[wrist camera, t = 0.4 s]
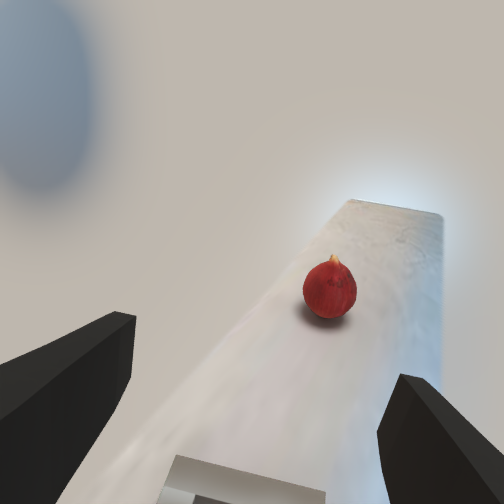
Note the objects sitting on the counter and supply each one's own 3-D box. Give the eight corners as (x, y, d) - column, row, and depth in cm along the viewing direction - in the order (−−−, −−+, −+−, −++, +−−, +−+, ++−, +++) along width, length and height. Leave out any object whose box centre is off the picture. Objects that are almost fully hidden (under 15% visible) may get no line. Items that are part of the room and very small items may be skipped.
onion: (358, 316, 44) (373, 256, 40) (334, 341, 40) (349, 278, 36) (315, 295, 47) (325, 238, 43) (289, 316, 43) (298, 256, 39)
